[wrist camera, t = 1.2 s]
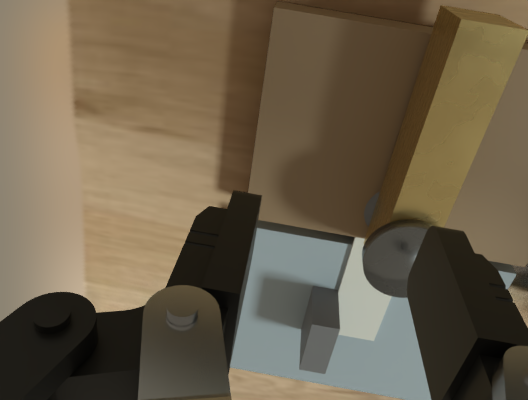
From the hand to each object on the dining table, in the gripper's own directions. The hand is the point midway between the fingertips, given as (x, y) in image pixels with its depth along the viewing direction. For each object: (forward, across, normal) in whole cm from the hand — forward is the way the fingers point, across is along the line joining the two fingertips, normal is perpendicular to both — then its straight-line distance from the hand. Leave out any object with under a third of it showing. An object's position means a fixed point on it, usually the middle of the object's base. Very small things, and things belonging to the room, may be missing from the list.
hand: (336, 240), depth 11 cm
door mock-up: (+19, -6, +12) cm, 24 cm away
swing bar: (+16, -7, +4) cm, 18 cm away
